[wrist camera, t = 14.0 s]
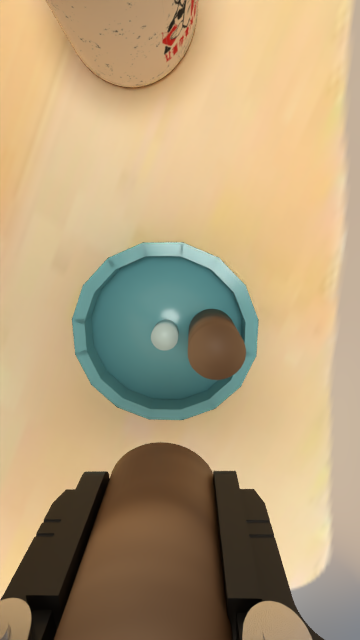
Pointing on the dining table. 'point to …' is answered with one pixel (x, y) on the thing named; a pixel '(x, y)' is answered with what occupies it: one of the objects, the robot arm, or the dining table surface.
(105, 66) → the teacup with lid
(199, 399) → the groove tray
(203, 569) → the walnut bead
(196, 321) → the walnut bead
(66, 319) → the dining table surface
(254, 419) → the dining table surface
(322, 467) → the dining table surface
